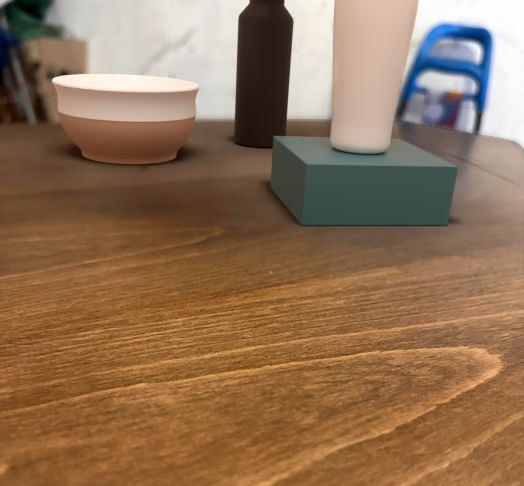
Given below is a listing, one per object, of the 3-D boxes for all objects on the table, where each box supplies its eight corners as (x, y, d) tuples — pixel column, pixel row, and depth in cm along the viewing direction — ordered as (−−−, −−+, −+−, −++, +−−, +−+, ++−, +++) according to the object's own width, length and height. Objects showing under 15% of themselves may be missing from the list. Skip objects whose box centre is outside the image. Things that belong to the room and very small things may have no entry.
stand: (393, 189, 69) (400, 139, 67) (447, 225, 57) (458, 166, 55) (270, 187, 66) (273, 135, 64) (301, 225, 55) (306, 163, 53)
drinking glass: (405, 149, 61) (433, -40, 54) (385, 160, 56) (413, -48, 49) (335, 140, 64) (353, -42, 57) (309, 150, 58) (326, -50, 51)
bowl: (67, 171, 68) (61, 88, 64) (50, 142, 81) (43, 72, 77) (217, 167, 73) (219, 90, 70) (178, 141, 87) (177, 75, 83)
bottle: (226, 144, 86) (231, -34, 77) (244, 137, 92) (251, -29, 83) (276, 150, 85) (287, -31, 76) (291, 142, 90) (303, -27, 81)
